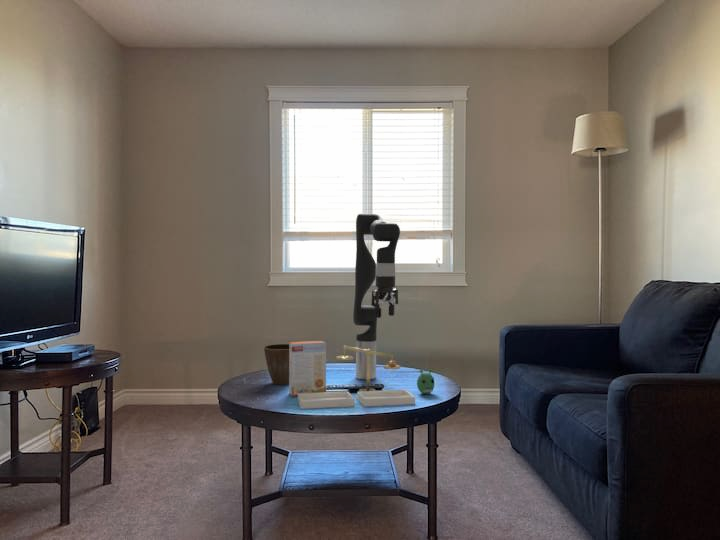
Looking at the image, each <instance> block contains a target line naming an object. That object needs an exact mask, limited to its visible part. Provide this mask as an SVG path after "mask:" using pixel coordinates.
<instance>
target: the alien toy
mask: <svg viewBox="0 0 720 540" xmlns="http://www.w3.org/2000/svg"><path fill="white" fill-rule="evenodd" d="M428 370H429V372H424V370H423V369H420V370H419V371H418V372H419V373H421V374H419V376H418V377H417V380H416V386H417V389H418V391H419V393H421V394H423V395H428V394H431V393H432V392H433V391H434V388H435V378H434V376H433V375H432V374H431V373H432V372H433V371H434V370H433V369H431V368H429V369H428Z"/></svg>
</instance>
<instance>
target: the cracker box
mask: <svg viewBox="0 0 720 540" xmlns="http://www.w3.org/2000/svg"><path fill="white" fill-rule="evenodd" d="M288 344H289V384H288V389H289V391H288V393H289V395H290V396H291V397H293V398H294V397H295V398H296V397H298V393H320V392H327V342H325V341H324V340H312V341H311V340H310V341H309V340H306V341H305V340H304V341H292V342H291V341H290V342H289V343H288Z"/></svg>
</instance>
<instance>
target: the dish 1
mask: <svg viewBox="0 0 720 540" xmlns="http://www.w3.org/2000/svg"><path fill="white" fill-rule="evenodd" d="M297 403H298V405H299V408H300V409H302V410H303V409H319V408H320V409H322V408H323V409H326V408H344V407H347V408H348V407H355V398H354V396H353V395H352V394H351V393H350V391H345V390H343V391H326V392H320V393H298V396H297Z"/></svg>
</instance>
